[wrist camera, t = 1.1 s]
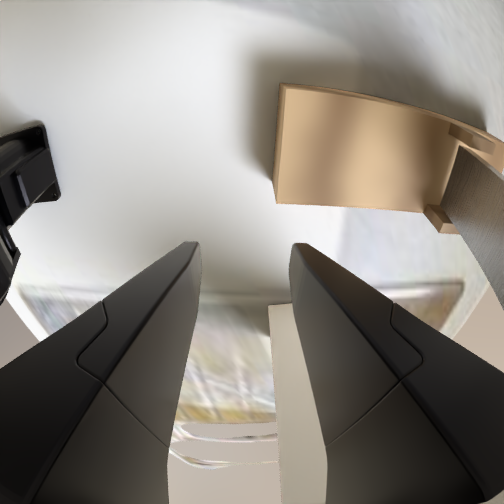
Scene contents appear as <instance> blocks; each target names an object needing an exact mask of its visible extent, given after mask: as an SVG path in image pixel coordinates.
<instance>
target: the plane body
mask: <svg viewBox="0 0 504 504" xmlns="http://www.w3.org/2000/svg"><path fill="white" fill-rule="evenodd" d="M459 145H461V146H464V147H467V148H469V149H471V150H472V151H474V152H475V153H476V154H478V155H479V156H480V157H481V158H483V159H484V160H485V161H487V162H488V163H489V164H490V165H491V166H493V167H494V168H495V169H496V170H497V171H499V172H500V173H502V171H503V168H504V142H502V141H501V140H499V139H498V138H496V137H494V136H493V135H491V134H489V133H488V132H485V131H483V130H481V129H478V128H476V127H473V126H471V125H468V124H466V123H463V122H460V121H458V120H455V119H452V118H449V117H447V116H444V115H441V114H438V113H435V112H431V111H428V110H425V109H422V108H418V107H415V106H411V105H407V104H404V103H400V102H396V101H392V100H388V99H384V98H379V97H375V96H370V95H365V94H360V93H355V92H349V91H343V90H337V89H330V88H323V87H316V86H307V85H298V84H287V83H280V84H279V99H278V113H277V126H276V140H275V153H274V166H273V178H272V184H273V189H274V194H275V199H276V204H299V205H321V206H339V207H355V208H369V209H382V210H395V211H406V212H416V213H424V215H425V216H426V217H427V218H428V219H429V221H430V222H431V223H432V224H433V226H434V227H435V228H436V229H437V231H438V232H439V233H446V234H460V233H459V232H458V230H457V229H456V227H455V226H454V224H453V223H452V221H451V220H450V219H449V217H448V216H447V214H446V213H445V212H444V210H443V209H442V208H441V206H440V203H441V200H442V197H443V194H444V192H445V189H446V186H447V183H448V180H449V177H450V174H451V171H452V168H453V164H454V161H455V158H456V154H457V151H458V147H459Z"/></svg>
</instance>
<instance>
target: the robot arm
mask: <svg viewBox="0 0 504 504" xmlns="http://www.w3.org/2000/svg"><path fill="white" fill-rule="evenodd" d="M39 130H40V132H41V133H39ZM54 193H55V194H56V196H55V195H54ZM60 196H61V193H60V189H59V185H58V182H57V178H56V174H55V170H54V166H53V162H52V158H51V153H50V149H49V144H48V139H47V134H46V129H45V127H44V125H37V126H33V127H30V128H26V129H23V130H20V131H17V132H13V133H10V134H7V135H4V136H2V137H0V305H1V304H2V303H3V301H4V299H5V298H6V295H7V293H8V290H9V288H10V285H11V280H12V277H13V274H14V271H15V268H16V266H17V263H18V260H19V257H20V255H21V253H20V251H19V249H18V247H16V246H15V244H14V242H13V240H12V237H11V235H10V233H9V231H8V230H9V229H10V228H11V227H12V225H14V223H15V222H16V221H17V220H18V219H19V218H20V217H21V215H22V214H23V213H24V212H25V211H26V210H27V209H28V208H29V207H30V206H31V205H32V204H33V203H39V202H49V201H57V200H58V199H59V198H60ZM201 274H202V263H201V253H200V245H199V243H198V242H184V243H182V244H181V245H179V246H178V247H176V248H175V249H173V250H172V251H170V252H169V253H168V254H166V255H165V256H163V257H162V258H160V259H159V260H157V261H156V262H154V263H153V264H152V265H150V266H149V267H147V268H146V269H144V270H143V271H142V272H140V273H139V274H137V275H136V276H135V277H133V278H132V279H130V280H129V281H128V282H126V283H125V284H123V285H122V286H121V287H119V288H118V289H116V290H115V291H114V292H112V293H111V294H110V295H108V296H107V297H105V298H104V299H103V300H102V301H99V302H98V303H96V304H95V305H94V306H92V307H91V308H90V309H88V310H87V311H86V312H84V313H83V314H81V315H80V316H79V317H77V318H76V319H74V320H73V321H71V322H70V323H68V324H67V325H65V326H64V327H62V328H61V329H59V330H58V331H56V332H55V333H53V334H52V335H50V336H49V337H47V338H46V339H44V340H43V341H41V342H40V343H38V344H37V345H35V346H34V347H32V348H31V349H29V350H28V351H26V352H24V353H23V354H22V355H20V356H19V357H17V358H16V359H14V360H13V361H11V362H10V363H8V364H7V365H5V366H4V367H2V368H1V369H0V504H169V496H168V478H167V460H168V452H169V447H170V441H171V436H172V430H173V425H174V420H175V415H176V410H177V405H178V400H179V395H180V390H181V386H182V381H183V376H184V371H185V367H186V362H187V358H188V353H189V349H190V344H191V340H192V336H193V331H194V327H195V323H196V318H197V313H198V305H199V294H200V284H201ZM289 279H290V288H291V297H292V306H293V314H294V318H295V323H296V327H297V331H298V335H299V339H300V343H301V347H302V351H303V355H304V359H305V363H306V367H307V371H308V375H309V380H310V384H311V388H312V392H313V397H314V401H315V405H316V409H317V414H318V418H319V423H320V427H321V432H322V436H323V441H324V445H325V450H326V456H327V485H326V501H325V504H504V373H503V372H502V371H500V370H498V369H497V368H495V367H494V366H492V365H491V364H489V363H487V362H486V361H485V360H483V359H481V358H480V357H478V356H477V355H475V354H474V353H472V352H470V351H469V350H467V349H466V348H464V347H463V346H461V345H459V344H458V343H456V342H455V341H453V340H451V339H450V338H448V337H447V336H445V335H443V334H442V333H440V332H439V331H437V330H435V329H434V328H432V327H431V326H429V325H428V324H426V323H424V322H423V321H421V320H420V319H418V318H417V317H415V316H414V315H413V314H411V313H410V312H408V311H407V310H405V309H404V308H402V307H401V306H400V305H398V304H397V303H393V301H392V300H390V299H389V298H387V297H386V296H385V295H383V294H382V293H380V292H379V291H377V290H376V289H374V288H373V287H372V286H370V285H369V284H367V283H366V282H364V281H363V280H361V279H360V278H358V277H357V276H355V275H354V274H352V273H351V272H350V271H348V270H347V269H345V268H344V267H342V266H341V265H339V264H338V263H336V262H335V261H333V260H332V259H330V258H329V257H327V256H326V255H324V254H323V253H321V252H319V251H318V250H316V249H315V248H313V247H312V246H310V245H309V244H307V243H294V244H293V246H292V250H291V256H290V263H289Z"/></svg>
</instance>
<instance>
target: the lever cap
mask: <svg viewBox="0 0 504 504" xmlns="http://www.w3.org/2000/svg"><path fill="white" fill-rule="evenodd" d="M440 206H441V208H442V209H443V210H444V212H445V213H446V214H447V216H448V217H449V219H450V220H451V221H452V223H453V224H454V226H455V227H456V229H457V230H458V232H459V233H460V235H461V236H462V238H463V239H464V241H465V242H466V244H467V245H468V247H469V248H470V250H471V252H472V253H473V255H474V256H475V258H476V260H477V261H478V263H479V265H480V267H481V268H482V270H483V272H484V273H485V275H486V277H487V279H488V281H489V282H490V284H491V286H492V288H493V290H494V292H495V294H496V296H497V297H498V300H499V302H500V304H501V305H502V308H503V310H504V176H503V175H502V174H501V173H500V172H499V171H497V170H496V169H495V168H494V167H493V166H491V165H490V164H489V163H488V162H487V161H485V160H484V159H483V158H481V157H480V156H479V155H478V154H476V153H475V152H474V151H472V150H471V149H469V148H467V147H464V146H461V145H459V147H458V151H457V154H456V158H455V161H454V164H453V168H452V171H451V174H450V177H449V180H448V183H447V186H446V189H445V192H444V194H443V197H442V200H441V203H440Z"/></svg>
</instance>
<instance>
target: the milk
mask: <svg viewBox="0 0 504 504" xmlns="http://www.w3.org/2000/svg"><path fill="white" fill-rule="evenodd" d="M268 314H269V327H270V340H271V353H272V366H273V379H274V393H275V407H276V421H277V436H278V451H279V466H280V482H281V500H282V504H325V501H326V485H327V456H326V450H325V445H324V441H323V436H322V432H321V427H320V423H319V418H318V414H317V409H316V405H315V401H314V397H313V392H312V388H311V384H310V380H309V375H308V371H307V367H306V363H305V359H304V355H303V351H302V347H301V343H300V339H299V335H298V331H297V327H296V323H295V318H294V314H293V306H292V303H289V304H279V305H269V306H268Z"/></svg>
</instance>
